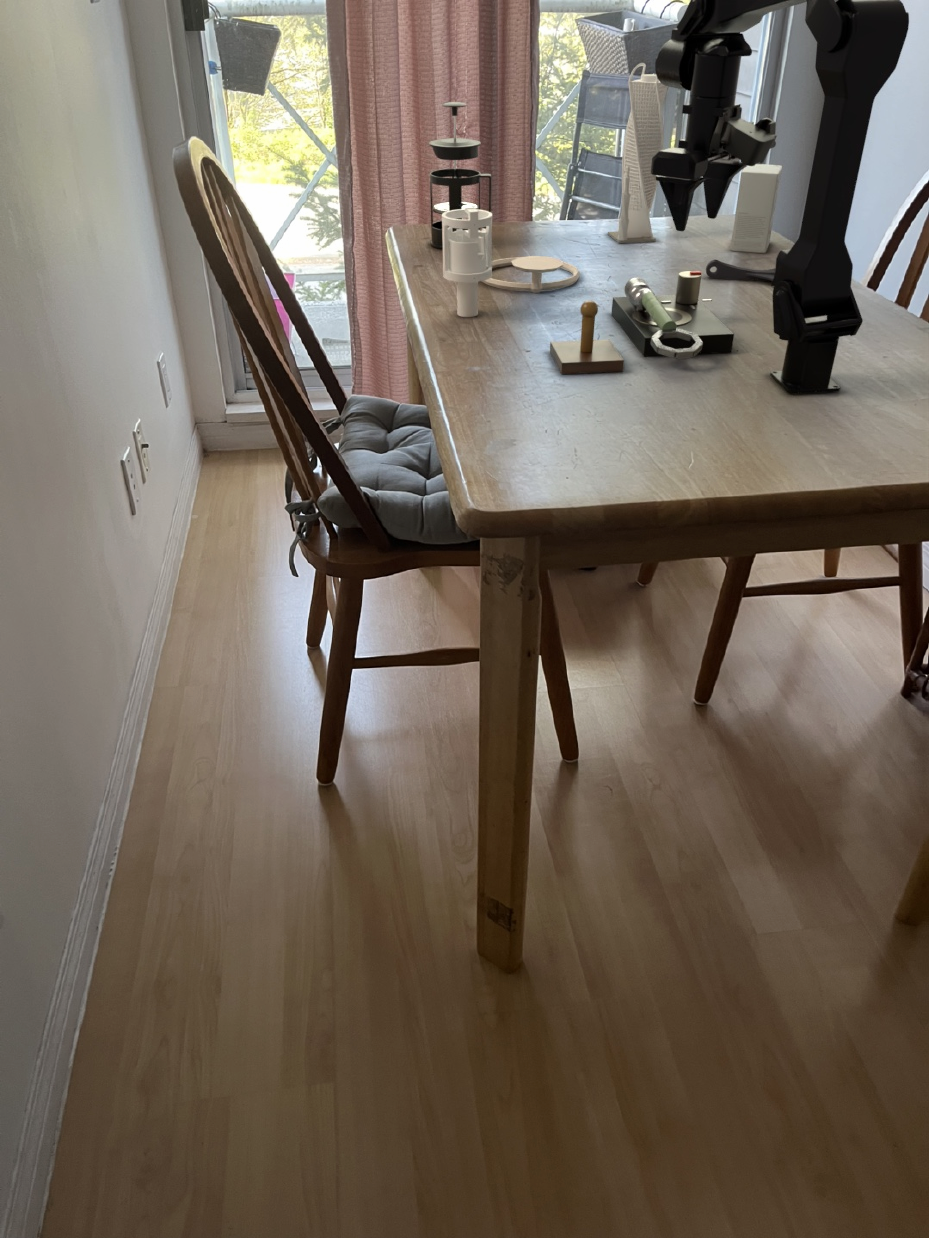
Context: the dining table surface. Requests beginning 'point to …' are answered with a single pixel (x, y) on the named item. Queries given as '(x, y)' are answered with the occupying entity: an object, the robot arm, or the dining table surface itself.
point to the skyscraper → (640, 158)
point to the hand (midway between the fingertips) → (696, 224)
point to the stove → (701, 324)
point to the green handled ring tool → (660, 321)
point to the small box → (755, 208)
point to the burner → (676, 314)
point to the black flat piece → (738, 272)
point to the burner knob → (688, 287)
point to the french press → (454, 176)
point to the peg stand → (586, 349)
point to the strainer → (467, 254)
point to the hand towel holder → (534, 273)
